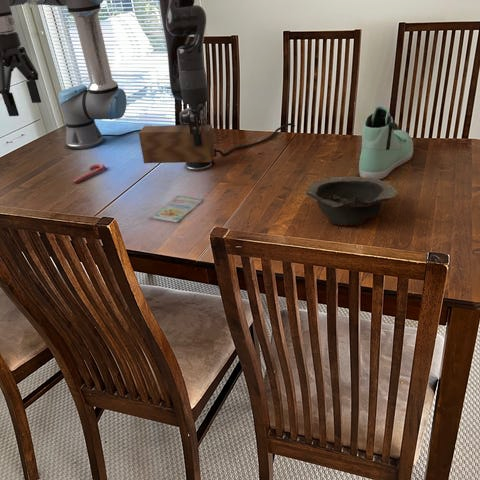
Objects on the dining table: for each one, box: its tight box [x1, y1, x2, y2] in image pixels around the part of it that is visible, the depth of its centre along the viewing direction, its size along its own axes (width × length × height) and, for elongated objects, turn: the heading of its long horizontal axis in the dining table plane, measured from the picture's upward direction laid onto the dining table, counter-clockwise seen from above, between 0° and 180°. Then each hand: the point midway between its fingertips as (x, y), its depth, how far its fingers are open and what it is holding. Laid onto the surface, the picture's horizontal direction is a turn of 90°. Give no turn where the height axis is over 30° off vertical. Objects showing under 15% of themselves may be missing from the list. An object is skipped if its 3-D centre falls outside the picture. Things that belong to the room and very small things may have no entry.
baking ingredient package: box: [151, 196, 203, 223], centre depth 146 cm, size 9×1×15 cm
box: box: [138, 124, 215, 164], centre depth 144 cm, size 21×6×10 cm, turn 83°
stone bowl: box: [304, 175, 398, 227], centre depth 135 cm, size 25×25×9 cm
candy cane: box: [73, 163, 106, 184], centre depth 174 cm, size 6×15×2 cm, turn 145°
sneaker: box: [358, 105, 414, 180], centre depth 160 cm, size 14×35×20 cm, turn 152°
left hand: (25, 109), depth 144 cm, fingers open, 13 cm apart
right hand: (200, 142), depth 143 cm, fingers closed on box, 6 cm apart
